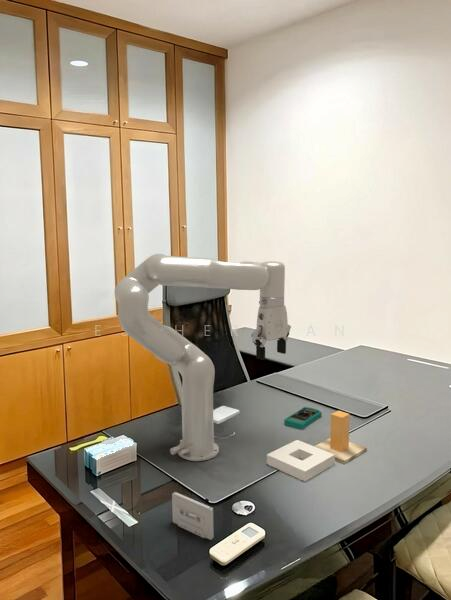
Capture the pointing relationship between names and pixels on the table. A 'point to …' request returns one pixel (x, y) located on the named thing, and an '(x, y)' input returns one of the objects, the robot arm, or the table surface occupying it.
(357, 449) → the pad
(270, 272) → the robot arm
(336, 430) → the plug
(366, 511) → the table surface
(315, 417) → the digital multimeter
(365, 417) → the table surface
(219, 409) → the hard drive
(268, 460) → the white square holed plate
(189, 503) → the cassette
